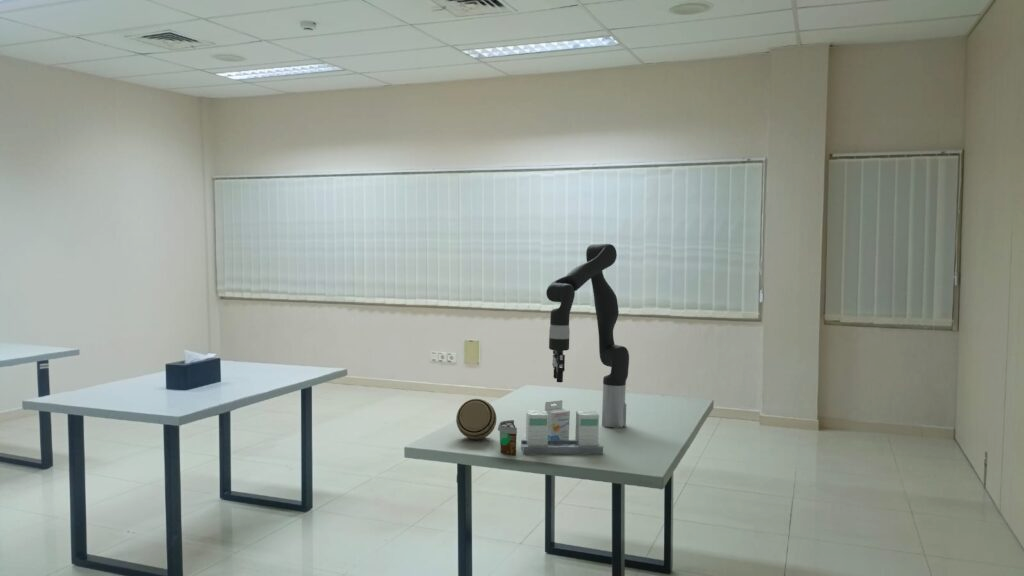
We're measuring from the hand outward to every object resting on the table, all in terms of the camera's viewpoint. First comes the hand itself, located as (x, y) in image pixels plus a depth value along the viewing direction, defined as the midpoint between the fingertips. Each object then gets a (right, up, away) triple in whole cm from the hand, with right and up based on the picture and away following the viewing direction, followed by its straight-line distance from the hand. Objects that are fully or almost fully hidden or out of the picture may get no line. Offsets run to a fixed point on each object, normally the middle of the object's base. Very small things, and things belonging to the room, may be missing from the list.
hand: (558, 380), depth 274 cm
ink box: (-1, -23, +1) cm, 23 cm away
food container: (-19, -24, -15) cm, 34 cm away
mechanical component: (-31, -22, +2) cm, 38 cm away
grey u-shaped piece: (0, -24, -12) cm, 26 cm away
